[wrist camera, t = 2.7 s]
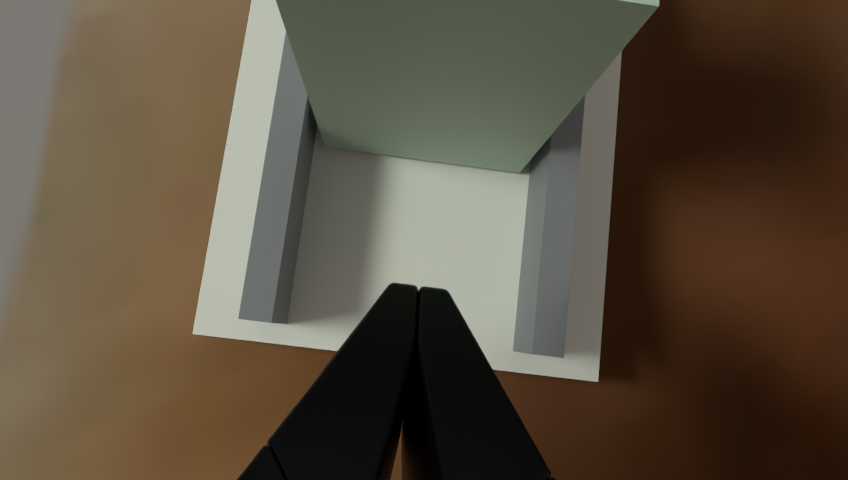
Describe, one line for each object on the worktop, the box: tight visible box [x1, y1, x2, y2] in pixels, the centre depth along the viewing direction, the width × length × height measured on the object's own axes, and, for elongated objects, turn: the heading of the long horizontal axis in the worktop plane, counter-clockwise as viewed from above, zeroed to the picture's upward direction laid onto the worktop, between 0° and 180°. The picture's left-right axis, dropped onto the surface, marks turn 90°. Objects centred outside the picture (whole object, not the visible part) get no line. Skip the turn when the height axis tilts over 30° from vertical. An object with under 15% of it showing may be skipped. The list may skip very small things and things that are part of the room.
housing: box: [193, 0, 622, 382], centre depth 14 cm, size 16×10×6 cm, turn 173°
